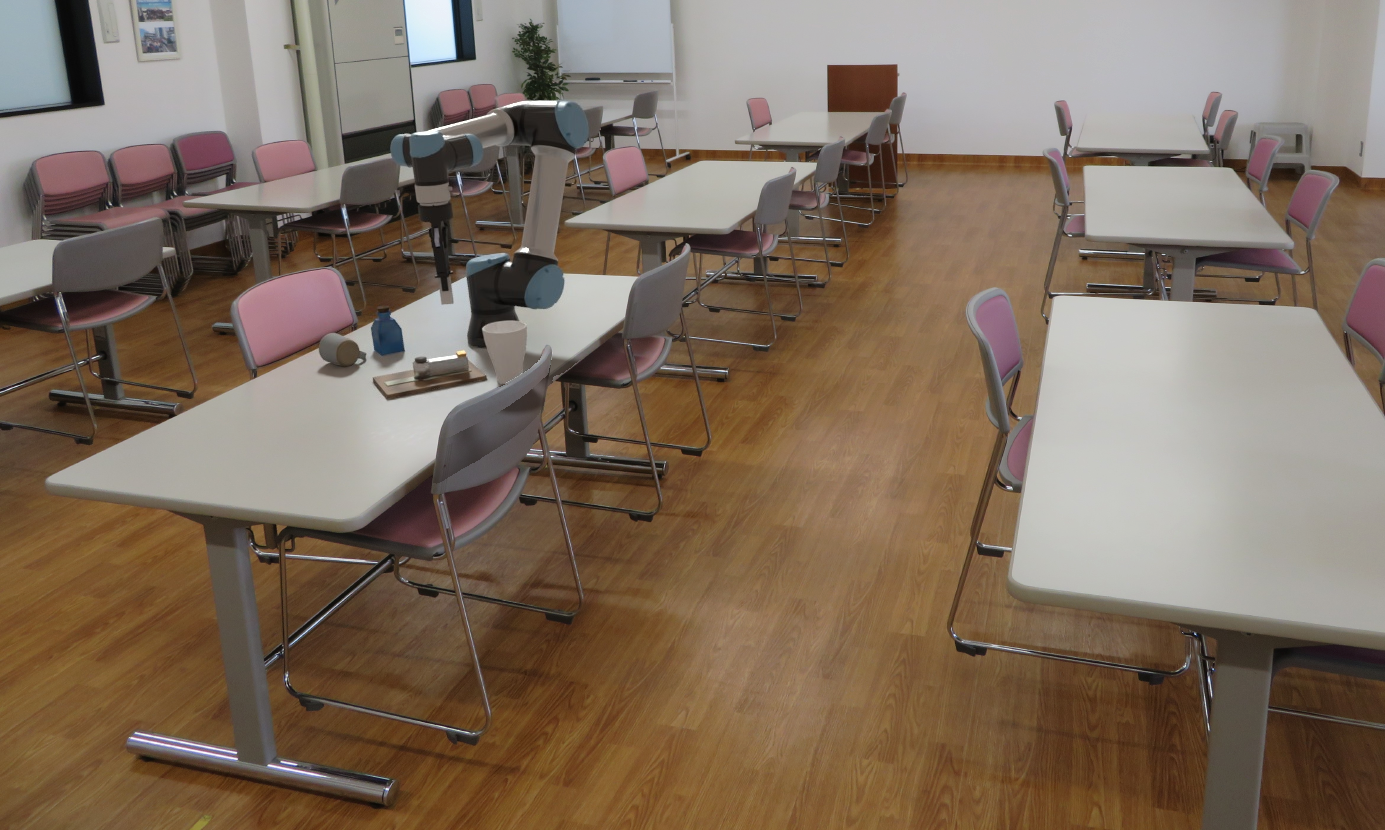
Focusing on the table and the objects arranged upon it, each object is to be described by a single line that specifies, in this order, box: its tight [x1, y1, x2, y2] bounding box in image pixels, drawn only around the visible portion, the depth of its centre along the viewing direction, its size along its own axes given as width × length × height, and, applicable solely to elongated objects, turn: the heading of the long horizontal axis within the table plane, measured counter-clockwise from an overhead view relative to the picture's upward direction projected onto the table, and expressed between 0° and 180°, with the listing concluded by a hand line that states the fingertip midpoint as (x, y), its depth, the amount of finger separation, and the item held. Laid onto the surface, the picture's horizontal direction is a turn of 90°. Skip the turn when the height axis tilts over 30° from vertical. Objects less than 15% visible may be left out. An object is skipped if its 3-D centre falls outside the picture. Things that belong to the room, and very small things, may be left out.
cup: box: [482, 320, 528, 385], centre depth 254 cm, size 10×10×14 cm
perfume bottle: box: [370, 305, 406, 356], centre depth 280 cm, size 6×6×12 cm
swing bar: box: [412, 350, 469, 378], centre depth 258 cm, size 13×4×4 cm, turn 113°
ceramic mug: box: [318, 332, 367, 367], centre depth 273 cm, size 11×8×8 cm
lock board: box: [372, 356, 488, 400], centre depth 257 cm, size 24×15×6 cm, turn 118°
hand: (447, 303), depth 249 cm, fingers closed
